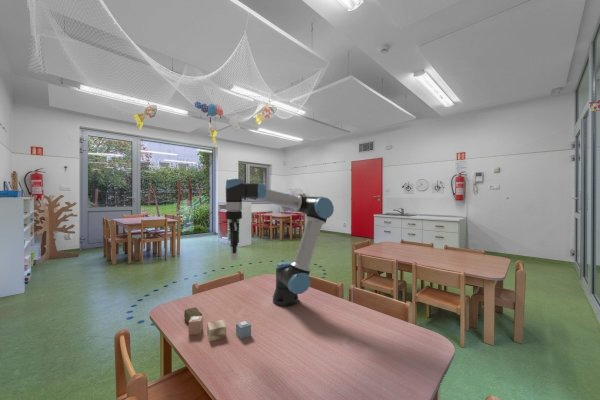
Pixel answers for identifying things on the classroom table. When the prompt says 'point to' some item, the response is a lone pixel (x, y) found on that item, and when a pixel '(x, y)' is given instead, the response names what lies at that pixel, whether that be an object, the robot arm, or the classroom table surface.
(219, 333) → the oak block
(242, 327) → the slate block
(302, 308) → the classroom table surface
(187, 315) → the stone block
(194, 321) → the terracotta block
